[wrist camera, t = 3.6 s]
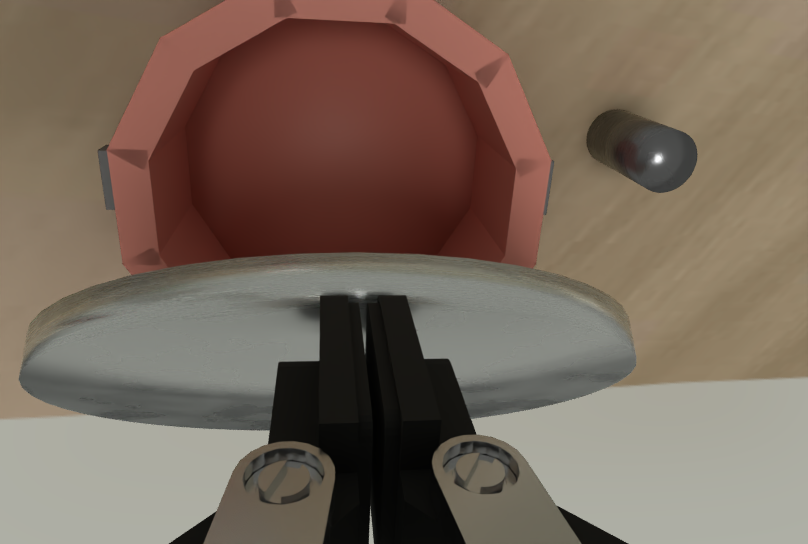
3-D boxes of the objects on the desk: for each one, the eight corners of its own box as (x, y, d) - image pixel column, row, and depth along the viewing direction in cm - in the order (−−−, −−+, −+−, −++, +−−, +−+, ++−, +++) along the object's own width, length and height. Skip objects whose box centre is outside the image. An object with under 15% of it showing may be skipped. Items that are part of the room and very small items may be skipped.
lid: (-150, 225, 11) (-185, 341, 10) (772, 233, 14) (800, 327, 13) (138, 400, 29) (133, 449, 28) (519, 390, 31) (524, 434, 31)
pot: (100, -33, 28) (24, -45, 21) (551, -5, 31) (621, -7, 24) (148, 331, 36) (103, 415, 29) (506, 326, 39) (548, 402, 31)
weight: (591, 108, 34) (643, 129, 28) (643, 110, 34) (703, 131, 29) (582, 162, 35) (630, 192, 29) (632, 163, 35) (688, 193, 30)
